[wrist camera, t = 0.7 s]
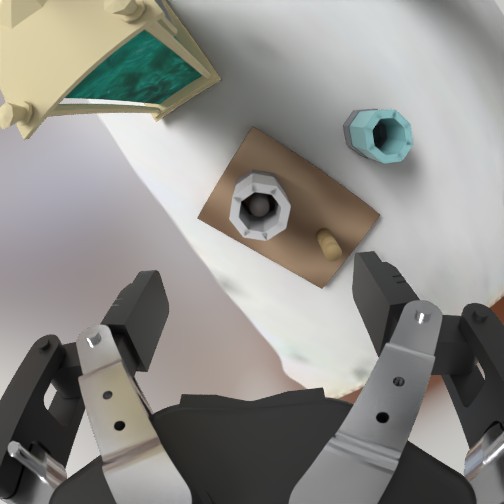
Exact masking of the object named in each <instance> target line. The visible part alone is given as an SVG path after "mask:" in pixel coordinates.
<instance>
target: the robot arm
mask: <svg viewBox="0 0 504 504" xmlns="http://www.w3.org/2000/svg"><path fill="white" fill-rule="evenodd" d="M352 291H353V298H354V301H355V303H356V306H357V308H358V310H359V312H360V315H361V317H362V319H363V322H364V324H365V326H366V329H367V331H368V333H369V336H370V338H371V341H372V343H373V345H374V348H375V350H376V353H377V355H378V357H379V359H378V361H377V363H376V365H375V367H374V369H373V371H372V373H371V375H370V377H369V378H368V380H367V382H366V384H365V386H364V388H363V390H362V391H361V393H360V395H359V397H358V399H357V400H356V402H355V404H351V403H349V402H346V401H343V400H340V399H335V398H327V397H325V395H324V390H323V388H315V389H306V390H297V391H288V392H284V393H281V394H277V395H274V396H270V397H266V398H263V399H259V400H255V401H244V400H238V399H233V398H228V397H223V396H218V395H188V394H182V396H181V400H180V404H178V405H174V406H170V407H167V408H164V409H162V410H160V411H158V412H156V413H153V411H152V409H151V407H150V405H149V404H148V402H147V400H146V398H145V396H144V394H143V392H142V390H141V388H140V386H139V384H138V382H137V380H136V379H135V377H134V376H135V373H136V371H141V372H147V371H148V369H149V366H150V363H151V360H152V357H153V355H154V352H155V349H156V346H157V344H158V341H159V338H160V336H161V333H162V330H163V328H164V325H165V323H166V320H167V317H168V314H169V303H168V299H167V296H166V293H165V289H164V286H163V283H162V279H161V276H160V273H159V272H158V271H157V270H152V271H141V272H139V273H138V275H137V276H136V278H135V280H134V281H133V283H132V284H129V285H128V286H127V287H125V288H124V289H123V290H122V291H121V292H120V294H119V295H118V297H117V300H115V301H114V303H113V306H111V308H110V309H109V311H108V312H107V314H106V316H105V317H104V319H103V321H102V322H101V324H100V325H94V326H91V327H88V328H87V329H85V330H84V331H83V332H81V334H80V335H79V336H78V338H77V340H76V342H74V343H69V344H64V345H62V344H61V342H60V340H59V338H58V337H57V336H56V335H46V336H43V337H42V338H40V339H39V340H37V341H36V342H35V343H34V344H33V346H32V347H31V349H30V350H29V352H28V354H27V355H26V357H25V358H24V360H23V362H22V363H21V365H20V367H19V368H18V370H17V371H16V373H15V375H14V377H13V378H12V380H11V382H10V384H9V385H8V387H7V389H6V391H5V393H4V394H3V396H2V398H1V400H0V499H1V500H2V501H4V502H6V503H7V504H504V325H503V324H502V323H501V321H500V320H499V319H498V317H497V316H496V315H495V313H494V312H493V311H492V310H491V309H490V308H488V307H487V306H485V305H482V304H478V303H471V304H468V305H466V306H465V307H464V309H463V312H462V315H461V316H452V315H442V312H441V310H440V309H439V308H438V307H437V306H436V305H434V304H433V303H431V302H428V301H423V300H420V299H419V298H418V296H417V295H416V294H415V292H414V291H413V290H412V288H411V287H410V285H409V284H408V283H407V282H406V280H405V279H404V277H403V276H402V275H401V273H400V272H399V271H398V269H397V268H396V267H394V266H393V265H391V264H389V263H388V262H382V261H381V260H380V258H379V257H378V256H377V254H376V253H375V252H374V251H370V252H360V253H356V254H355V258H354V272H353V285H352ZM478 361H479V363H480V365H481V367H482V369H483V371H484V373H485V380H484V378H483V376H482V374H481V372H480V370H479V368H478V367H477V365H476V364H477V362H478ZM430 375H441V376H442V378H443V380H444V382H445V385H446V387H447V390H448V392H449V394H450V397H451V399H452V402H453V404H454V407H455V409H456V412H457V414H458V417H459V419H460V422H461V425H462V428H463V431H464V433H465V436H466V439H467V442H468V445H469V448H470V450H469V451H468V453H467V455H466V458H465V469H464V476H465V477H464V476H463V475H462V474H460V473H459V472H457V471H455V470H454V469H452V468H450V467H449V466H447V465H445V464H444V463H442V462H441V461H439V460H437V459H436V458H434V457H432V456H431V455H429V454H428V453H426V452H425V451H423V450H422V449H420V448H418V447H417V446H415V445H414V444H412V443H411V442H409V441H408V437H409V435H410V432H411V430H412V427H413V425H414V422H415V420H416V417H417V414H418V412H419V409H420V406H421V403H422V400H423V397H424V394H425V391H426V388H427V385H428V382H429V379H430ZM50 383H52V385H53V386H54V387H55V389H56V390H57V392H56V394H55V396H54V398H53V400H52V403H51V405H50V407H49V409H48V410H47V409H46V408H45V405H44V395H45V393H46V391H47V389H48V387H49V385H50ZM85 408H86V411H87V415H88V418H89V421H90V425H91V428H92V431H93V434H94V437H95V440H96V443H97V445H98V448H99V451H100V454H101V455H100V456H98V457H97V458H96V459H94V460H93V461H91V462H90V463H89V464H87V465H86V466H85V467H83V468H82V469H80V470H79V471H78V472H76V473H75V474H73V475H72V476H71V477H70V478H68V479H67V474H66V470H65V468H66V465H67V462H68V458H69V455H70V452H71V449H72V446H73V442H74V439H75V436H76V433H77V431H78V427H79V425H80V422H81V419H82V416H83V413H84V411H85Z"/></svg>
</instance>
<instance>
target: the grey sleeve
mask: <svg viewBox="0 0 504 504" xmlns="http://www.w3.org/2000/svg"><path fill="white" fill-rule="evenodd" d="M254 192H259V193H265V194H271V195H272V196H273V197H274V198H275V199H274V204H272V205H271V206H269V211H268V213H267V214H266V215H264V216H262V217H257V216H255V215H253V214H252V213H251V211H250V209H249V208H248V206H247V205H246V204H245V202H244V201H243V200H244V199H245V198H247V197H248V196H250V195H251V194H253V193H254ZM286 195H287V193H286V191H285V188H284V187H283V186H282V184H281V183H280V181H279V180H278V179H277V177H276V176H275V174H274V173H273V172H267V171H261V170H255V169H252V170H251V171H249V172H248V173H246V174H245V175H243V176H242V177H241V178H239V179H238V180H236V182H235V186H234V193H233V197H232V204H231V210H230V217H229V220H230V221H231V222H232V224H233V225H234V226H235V227H236V229H237V230H238V231H239V232H240V234H241V235H242V236H243V237H244V238H251V239H257V240H264V241H266V240H269V239H270V238H272V237H273V236H275V235H277V234H278V233H280V232H281V231H283V230H284V229H286V226H287V222H288V217H289V213H290V208H291V205H290V203H289V200H288V198H287V196H286Z"/></svg>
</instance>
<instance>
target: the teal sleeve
mask: <svg viewBox="0 0 504 504" xmlns="http://www.w3.org/2000/svg"><path fill="white" fill-rule="evenodd" d="M376 124H378V125H379V130H380V138H379V140H378V141H377V143H376V144H375V145H374V139H373V132H372V130H373V129H374V127H375V126H376ZM343 128H344V134H345V139H346V144H347V145H348V146H349V147H350V148H352V149H353V150H354V151H356V152H357V153H358V154H359V155H361V156H363V157H366V158H371V159H373V160H376V161H378V162H381V163H383V164H385V163H392V162H399V161H403V159H404V158H405V156H406V155H407V153H408V152H409V150H410V149H411V147H412V146H413V140H412V132H411V125H410V123H409V122H408V121H407V120H406V119H405V118H404V117H403V116H402V115H401V114H399V113H398V112H397V111H396V110H378V109H367V110H357V111H353V112H352V113H351V115H350V116H349V118H348V119H347V121H346V122H345V124H344V125H343Z"/></svg>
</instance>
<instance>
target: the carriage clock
mask: <svg viewBox="0 0 504 504" xmlns="http://www.w3.org/2000/svg"><path fill="white" fill-rule="evenodd" d="M220 80H221V78H220V77H219V75H218V74H217V72H216V71H215V69H214V68H213V66H212V65H211V63H210V62H209V60H208V59H207V58H206V56H205V55H204V53H203V52H202V50H201V49H200V47H199V46H198V45H197V43H196V42H195V40H194V39H193V38H192V36H191V35H190V33H189V32H188V31H187V29H186V28H185V26H184V25H183V24H182V22H181V21H180V20H179V18H178V17H177V16H176V14H175V13H174V12H173V10H172V9H171V8H170V6H169V5H168V4H167V2H166V1H165V0H0V89H1V91H2V94H3V96H4V98H5V101H6V103H5V104H4V105H3V106H1V108H0V127H1V128H2V129H6V128H7V127H9V126H11V125H13V124H15V123H16V125H17V127H18V129H19V131H20V133H21V135H22V137H23V139H24V140H25V139H29V138H30V137H31V136H32V134H33V133H34V132H35V131H36V129H37V128H38V127H39V126H40V125H41V123H42V122H43V121H44V120H45V119H46V118H47V117H50V116H61V115H74V114H88V113H151V115H152V116H153V118H154V120H155V121H156V122H157V121H159V120H160V119H161V118H163V117H164V116H166V115H167V114H168V113H170V112H171V111H173V110H174V109H176V108H177V107H179V106H180V105H182V104H183V103H185V102H186V101H188V100H189V99H191V98H192V97H194V96H196V95H197V94H199V93H200V92H202V91H204V90H205V89H207V88H209V87H210V86H212V85H214V84H215V83H217V82H219V81H220ZM64 98H86V99H106V100H120V101H132V102H142V103H144V104H145V106H134V105H115V104H59V103H60V102H61V101H62V100H63V99H64Z"/></svg>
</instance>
